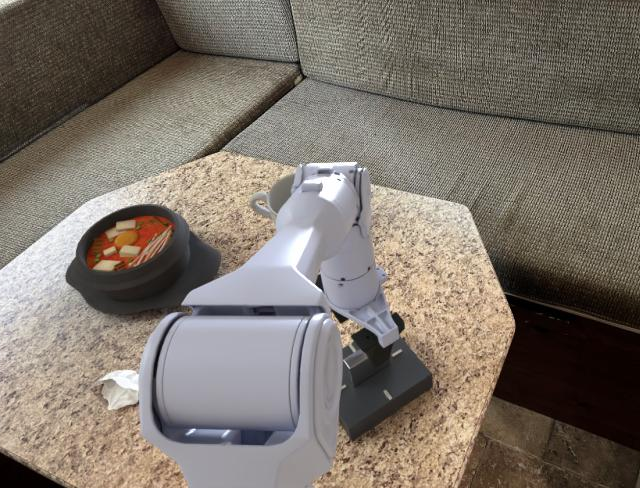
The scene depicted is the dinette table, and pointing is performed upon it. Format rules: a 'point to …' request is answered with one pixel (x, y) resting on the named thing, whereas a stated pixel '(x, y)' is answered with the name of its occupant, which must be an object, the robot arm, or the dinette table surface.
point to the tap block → (381, 389)
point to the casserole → (140, 261)
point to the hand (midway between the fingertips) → (363, 338)
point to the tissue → (119, 388)
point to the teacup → (273, 197)
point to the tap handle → (360, 367)
